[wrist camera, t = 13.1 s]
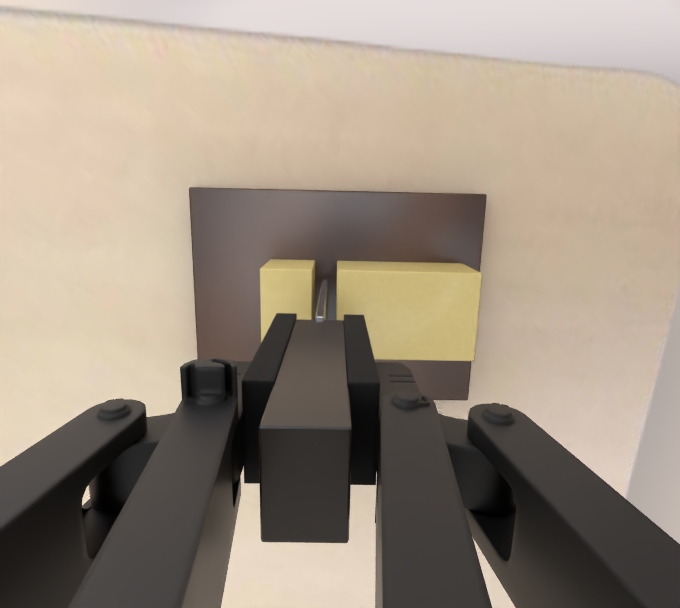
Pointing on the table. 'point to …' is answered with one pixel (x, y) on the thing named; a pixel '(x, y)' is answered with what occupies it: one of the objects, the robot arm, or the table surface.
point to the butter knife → (308, 437)
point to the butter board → (320, 256)
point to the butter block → (413, 307)
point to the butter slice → (287, 290)
